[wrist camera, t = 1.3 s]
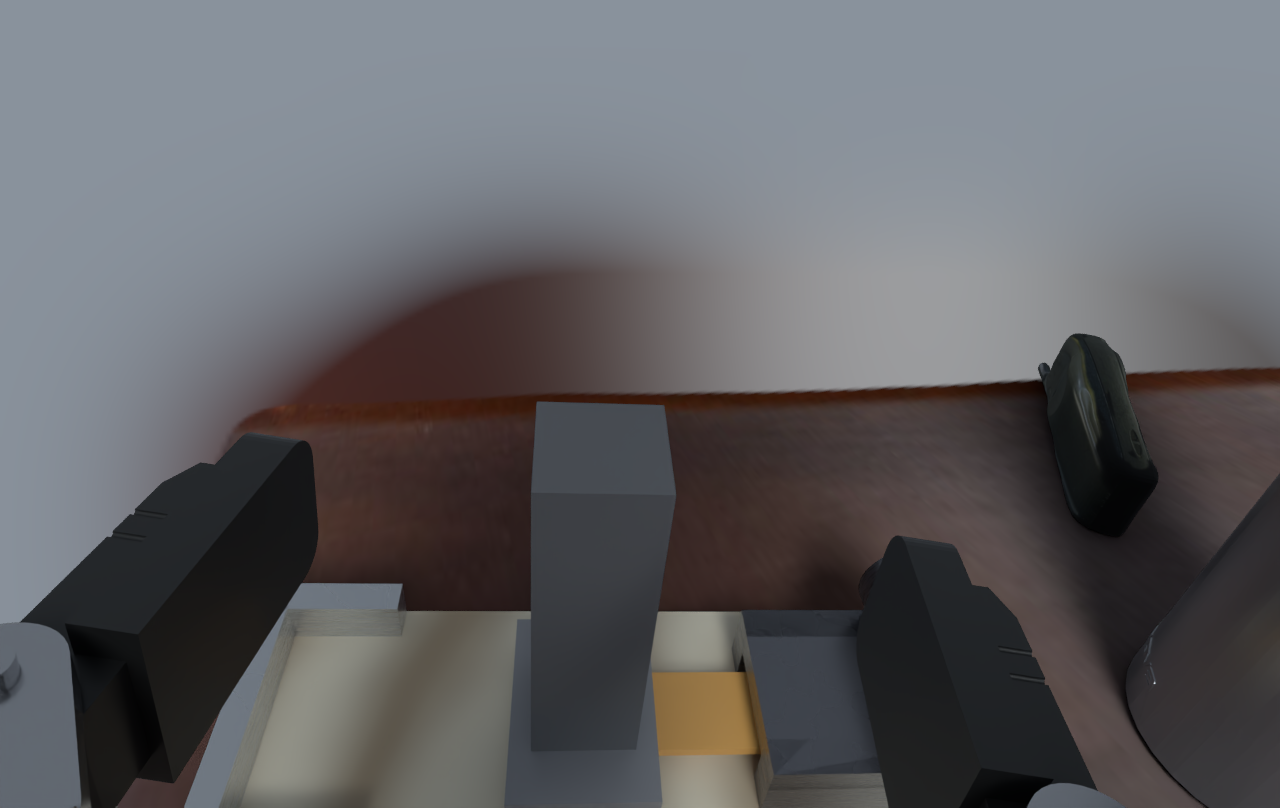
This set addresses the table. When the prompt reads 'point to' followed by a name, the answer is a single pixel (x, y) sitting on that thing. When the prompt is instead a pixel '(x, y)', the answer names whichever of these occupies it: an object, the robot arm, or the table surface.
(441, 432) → the table surface
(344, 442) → the table surface
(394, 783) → the rail board
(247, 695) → the bracket
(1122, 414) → the dark green rounded bar
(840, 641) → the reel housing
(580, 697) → the strap handle
